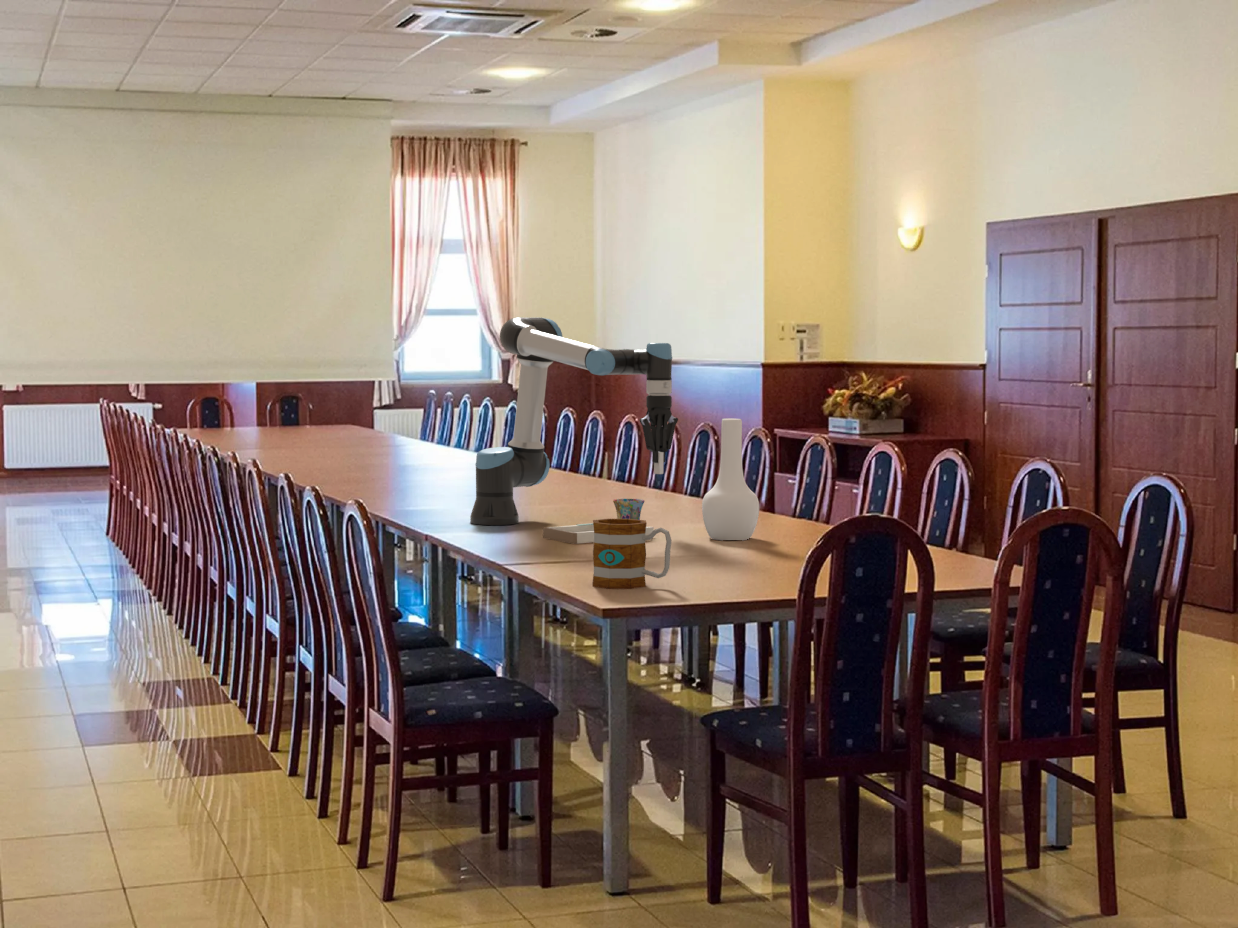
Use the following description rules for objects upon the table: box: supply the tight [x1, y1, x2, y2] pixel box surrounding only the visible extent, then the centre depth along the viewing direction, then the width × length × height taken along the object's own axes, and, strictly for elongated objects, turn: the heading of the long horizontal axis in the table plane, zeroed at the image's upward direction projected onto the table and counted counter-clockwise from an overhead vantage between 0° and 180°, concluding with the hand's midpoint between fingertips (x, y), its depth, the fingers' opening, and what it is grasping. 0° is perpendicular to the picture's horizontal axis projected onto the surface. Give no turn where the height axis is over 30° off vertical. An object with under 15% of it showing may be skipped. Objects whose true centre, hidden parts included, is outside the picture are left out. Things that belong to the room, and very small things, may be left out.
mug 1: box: [612, 498, 645, 520], centre depth 470 cm, size 12×9×11 cm
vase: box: [701, 418, 760, 541], centre depth 464 cm, size 17×17×35 cm
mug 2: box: [592, 518, 673, 590], centre depth 374 cm, size 20×14×15 cm
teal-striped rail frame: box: [542, 522, 655, 545], centre depth 465 cm, size 22×28×3 cm
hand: (658, 473), depth 476 cm, fingers closed
